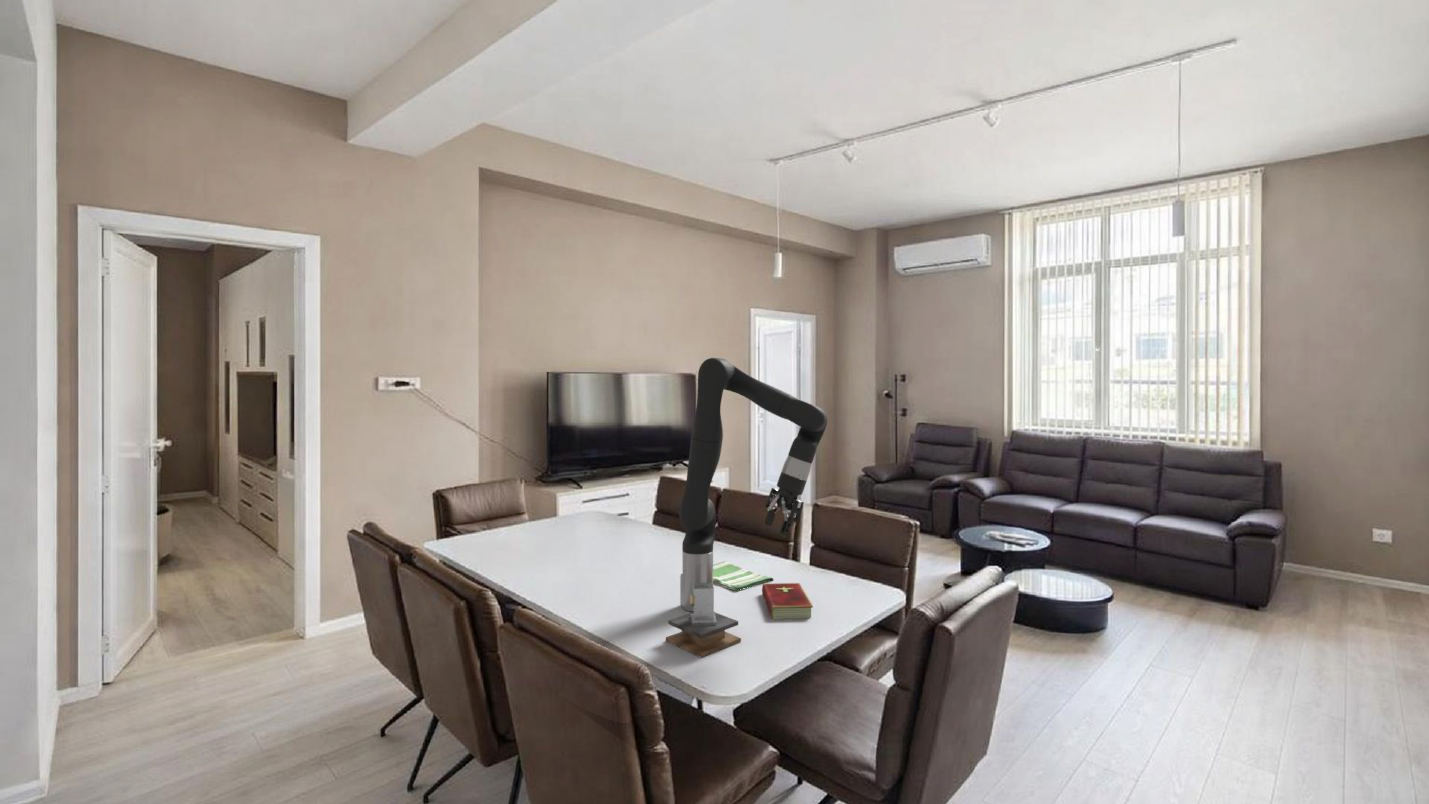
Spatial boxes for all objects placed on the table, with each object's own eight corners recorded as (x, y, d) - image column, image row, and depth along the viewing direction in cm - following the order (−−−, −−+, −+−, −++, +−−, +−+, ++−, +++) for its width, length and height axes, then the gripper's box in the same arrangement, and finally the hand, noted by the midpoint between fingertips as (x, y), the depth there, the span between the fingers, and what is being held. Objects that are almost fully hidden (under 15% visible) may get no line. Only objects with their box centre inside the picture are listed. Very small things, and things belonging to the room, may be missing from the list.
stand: (665, 640, 174) (665, 620, 174) (704, 626, 184) (704, 607, 183) (701, 657, 164) (701, 635, 164) (740, 641, 173) (740, 621, 173)
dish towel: (736, 593, 213) (736, 585, 213) (689, 577, 230) (689, 569, 230) (773, 582, 225) (773, 574, 225) (726, 567, 242) (726, 559, 242)
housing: (689, 616, 176) (689, 582, 176) (714, 616, 177) (714, 581, 176) (690, 625, 170) (690, 589, 169) (716, 625, 170) (716, 589, 170)
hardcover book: (771, 620, 190) (771, 606, 190) (762, 595, 211) (762, 582, 210) (812, 619, 190) (812, 605, 190) (799, 595, 211) (799, 582, 211)
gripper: (771, 465, 189) (752, 519, 189) (797, 477, 176) (777, 535, 176) (791, 472, 193) (773, 525, 192) (819, 484, 180) (799, 540, 180)
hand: (775, 529), depth 184 cm, fingers open, 8 cm apart
